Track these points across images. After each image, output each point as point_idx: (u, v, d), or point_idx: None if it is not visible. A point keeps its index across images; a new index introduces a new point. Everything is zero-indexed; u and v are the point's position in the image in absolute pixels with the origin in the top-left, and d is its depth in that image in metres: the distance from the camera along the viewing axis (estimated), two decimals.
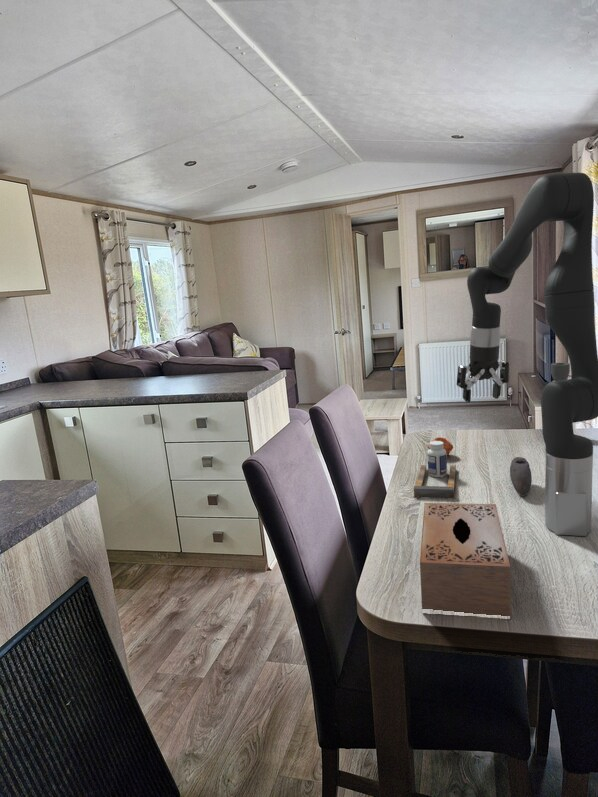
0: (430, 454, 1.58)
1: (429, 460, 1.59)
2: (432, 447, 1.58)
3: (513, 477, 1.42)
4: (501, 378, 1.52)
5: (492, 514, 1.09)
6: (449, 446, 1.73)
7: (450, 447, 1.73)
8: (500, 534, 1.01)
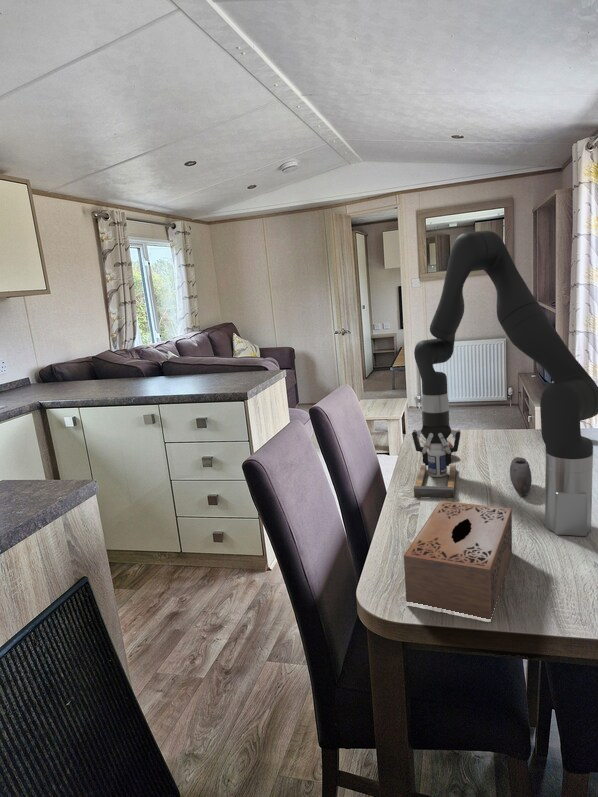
0: (430, 454, 1.58)
1: (429, 460, 1.59)
2: (432, 447, 1.58)
3: (513, 477, 1.42)
4: (452, 447, 1.58)
5: (502, 518, 1.07)
6: None
7: None
8: (498, 538, 0.99)
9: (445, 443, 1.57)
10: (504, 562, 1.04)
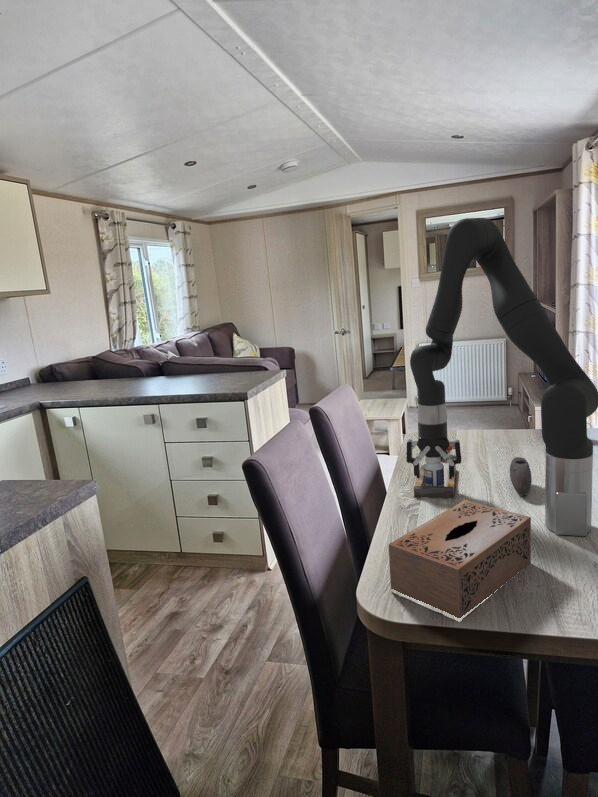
0: (426, 468, 1.47)
1: (425, 474, 1.48)
2: (429, 460, 1.47)
3: (513, 477, 1.42)
4: (456, 458, 1.46)
5: (512, 524, 1.04)
6: (449, 446, 1.73)
7: (450, 447, 1.73)
8: (492, 543, 0.98)
9: (445, 455, 1.45)
10: (505, 569, 1.01)
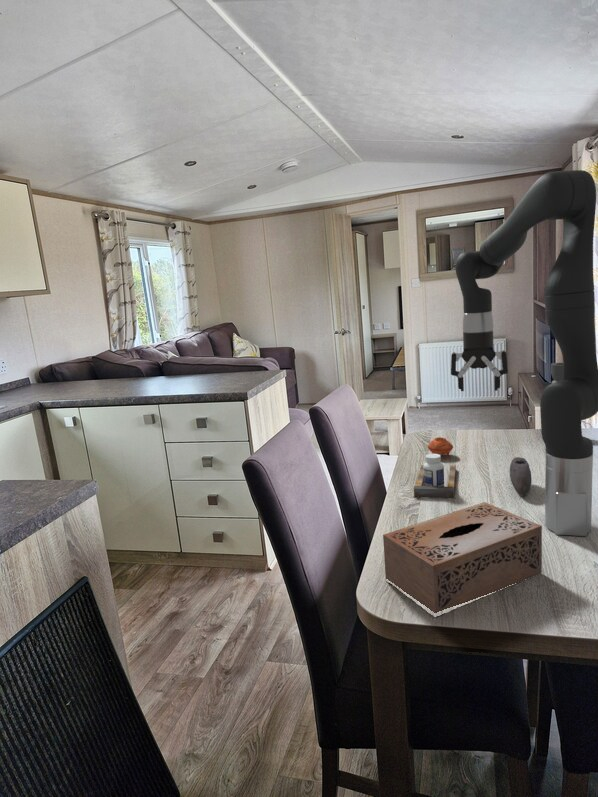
0: (426, 468, 1.47)
1: (425, 474, 1.48)
2: (429, 460, 1.47)
3: (513, 477, 1.42)
4: (501, 369, 1.44)
5: (517, 531, 1.01)
6: (449, 446, 1.73)
7: (450, 447, 1.73)
8: (483, 545, 0.97)
9: (491, 365, 1.43)
10: (501, 574, 1.00)
